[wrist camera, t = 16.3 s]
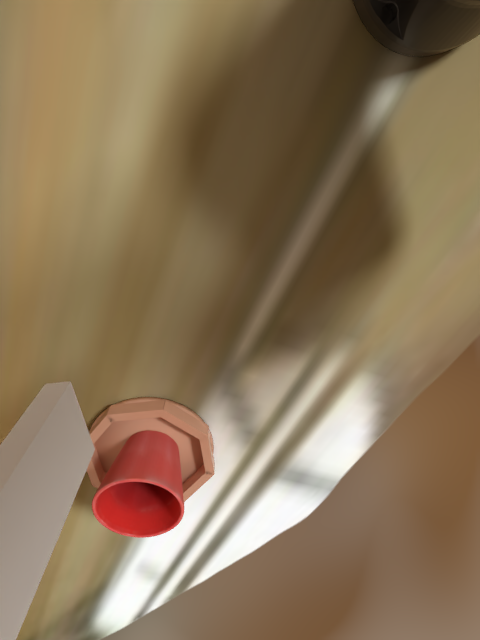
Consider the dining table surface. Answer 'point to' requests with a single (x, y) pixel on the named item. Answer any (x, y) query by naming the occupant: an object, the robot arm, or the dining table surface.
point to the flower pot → (142, 487)
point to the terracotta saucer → (156, 416)
